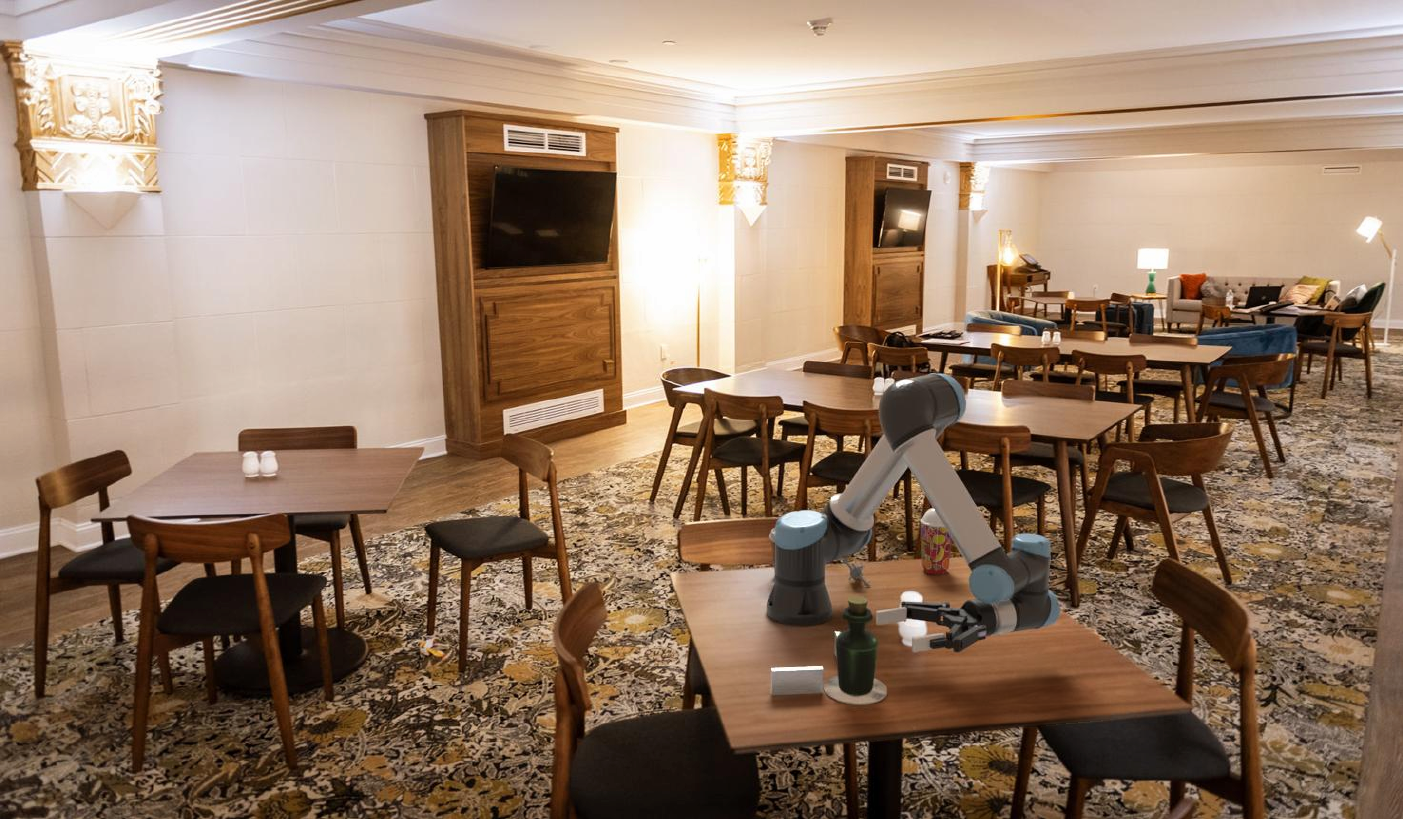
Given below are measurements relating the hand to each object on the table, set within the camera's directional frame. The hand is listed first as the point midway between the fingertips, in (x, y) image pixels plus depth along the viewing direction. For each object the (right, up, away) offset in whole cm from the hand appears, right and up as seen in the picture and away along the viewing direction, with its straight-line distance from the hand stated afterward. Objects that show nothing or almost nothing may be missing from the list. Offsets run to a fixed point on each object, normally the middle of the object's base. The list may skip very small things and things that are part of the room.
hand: (894, 631), depth 187 cm
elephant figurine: (+1, -1, +57) cm, 57 cm away
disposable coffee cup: (-15, 0, +62) cm, 64 cm away
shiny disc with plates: (-10, -11, +2) cm, 15 cm away
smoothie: (+24, +1, +65) cm, 69 cm away
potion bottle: (-8, -11, 0) cm, 13 cm away
